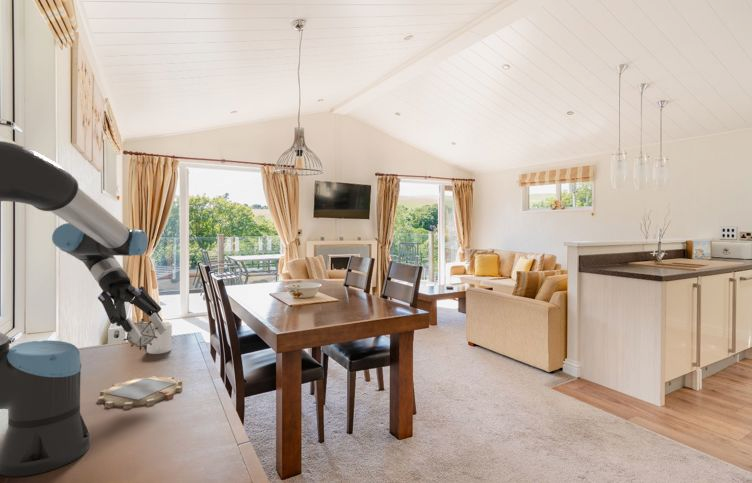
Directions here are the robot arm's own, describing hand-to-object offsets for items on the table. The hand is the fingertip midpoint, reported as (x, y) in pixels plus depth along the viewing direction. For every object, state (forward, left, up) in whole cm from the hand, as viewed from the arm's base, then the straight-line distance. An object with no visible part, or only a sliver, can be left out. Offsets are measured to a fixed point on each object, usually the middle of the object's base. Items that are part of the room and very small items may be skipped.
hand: (151, 335), depth 116 cm
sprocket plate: (0, +3, -17) cm, 18 cm away
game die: (-1, +3, -4) cm, 5 cm away
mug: (+32, +31, -18) cm, 48 cm away
